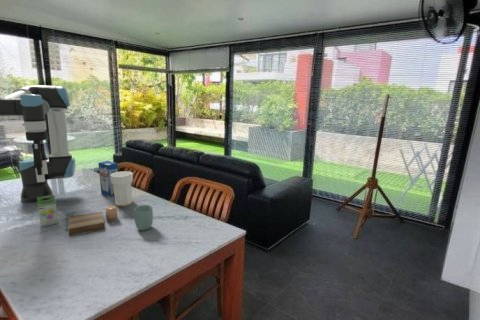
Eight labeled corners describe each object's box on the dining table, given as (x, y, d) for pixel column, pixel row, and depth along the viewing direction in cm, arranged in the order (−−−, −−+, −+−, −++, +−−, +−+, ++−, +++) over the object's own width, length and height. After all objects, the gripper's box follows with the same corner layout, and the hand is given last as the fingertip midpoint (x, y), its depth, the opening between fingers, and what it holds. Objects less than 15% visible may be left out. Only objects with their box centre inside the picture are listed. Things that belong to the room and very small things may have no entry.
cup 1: (108, 205, 150) (105, 175, 146) (123, 198, 160) (121, 170, 157) (124, 208, 146) (121, 177, 142) (138, 201, 156) (137, 172, 152)
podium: (69, 222, 129) (68, 217, 128) (102, 216, 136) (101, 211, 135) (68, 235, 117) (68, 229, 116) (104, 228, 124) (104, 222, 123)
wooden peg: (106, 218, 134) (105, 207, 133) (117, 216, 137) (116, 205, 135) (107, 222, 130) (105, 210, 129) (118, 220, 133) (117, 208, 131)
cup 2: (156, 226, 128) (155, 206, 125) (146, 233, 120) (144, 212, 118) (143, 223, 130) (141, 203, 128) (131, 230, 123) (130, 210, 121)
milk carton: (120, 194, 167) (117, 163, 162) (110, 197, 162) (107, 165, 157) (110, 191, 172) (107, 160, 167) (101, 194, 167) (98, 162, 162)
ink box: (40, 227, 124) (36, 200, 121) (40, 224, 127) (36, 197, 124) (58, 223, 128) (55, 197, 125) (58, 220, 131) (54, 194, 128)
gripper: (29, 128, 126) (36, 172, 130) (20, 134, 105) (28, 186, 110) (49, 127, 130) (54, 170, 134) (43, 133, 109) (50, 184, 113)
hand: (42, 177), depth 122 cm, fingers open, 13 cm apart
